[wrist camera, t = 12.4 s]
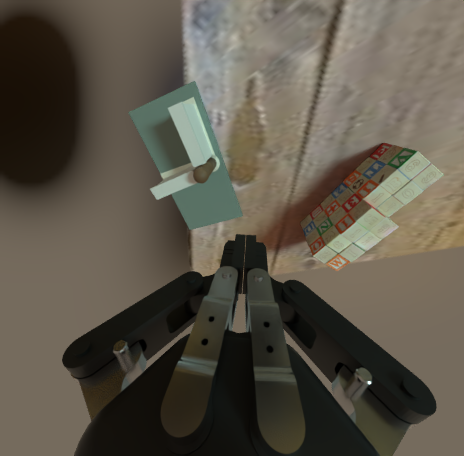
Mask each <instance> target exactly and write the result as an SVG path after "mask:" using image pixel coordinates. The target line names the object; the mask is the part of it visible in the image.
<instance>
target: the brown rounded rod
mask: <svg viewBox="0 0 464 456" xmlns="http://www.w3.org/2000/svg"><path fill="white" fill-rule="evenodd" d="M216 165H217V162H216V160H215V159H214V158H212V157H210V158H209V159H208V160H207V161H206V163H205V164H202V165H200V166H199V167H198V168H197V169H195V171H194V172H193V178H194V180H195V181H196V182H197V183H201V184H202V183H205V182H206V181H207V180H208V178H209V176H210V175H211V173H212V172H213V170H214V169H215V167H216Z"/></svg>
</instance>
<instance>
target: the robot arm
mask: <svg viewBox="0 0 464 456" xmlns="http://www.w3.org/2000/svg"><path fill="white" fill-rule="evenodd" d="M245 237H246V249H245ZM244 254H245V263H244ZM243 268H244V279H243ZM242 282H243V294H246V297H245V298H246V299H245V317H246V318H245V321H246V332H244V333H236V332H233V331H232V328H233V322H234V317H235V312H236V311H235V310H236V306H237V301H238V294H241V293H242ZM192 323H194V325H193V328H192V331H191V333H190V334H188V335H186V336H184V337H183V338H181V339H180V340H179V341H178V342H177V343H175V344H174V345H173V346H172V347H171V348H170V349H169V350H168V351H166V352H165V353H164V354H163V355H162V356H161V357H160V358H159V359H157V360H156V361H155V362H154V363H153V364H152V365H151V366H150V367H148V368H147V369H146V370H145V368H146V363H147V362H146V361H147V360H149V359H150V358H151V357H152V356H153V355H155V354H156V353H157V352H158V351H159V350H161V349H162V348H163V347H164V346H166V345H167V344H168V343H169V342H171V341H172V340H173V339H174V338H175V337H177V336H178V335H179V334H180V333H182V332H183V331H184V330H185V329H186V328H187V327H189V326H190V325H191V324H192ZM283 329H284V330H285V331H286V332H287V333H288V334H289V335H290V337H291V338H292V339H293V340H294V341H295V342H296V343H297V344H298V346H299V347H300V348H301V349H302V350H303V351H304V352H305V353H306V355H307V356H308V357H309V358H310V359H311V360H312V361H313V362H314V363H315V365H316V366H317V367H318V368H319V369H320V370H321V372H322V373H323V374H324V375H325V376H326V377H327V378H328V379H329V381H330V382H331V383H332V392H333V395H334V397H333V396H332V394H331V393H330V392H329V391H328V390H327V388H326V387H325V386H324V385H323V384H322V382H321V381H320V380H319V379H318V377H317V376H316V375H315V374H314V372H313V371H312V370H311V369H310V367H309V366H308V365H307V364H306V362H305V361H304V360H303V359H302V358H301V356H300V355H299V354H298V353H297V352H296V351H295V350H294V349H293V348H292V347H291V346H290V345H288V344H287V343H286V340H285V335H284V330H283ZM62 362H63V364H64V366H65V367H66V368H67V369H68V371H70V373H71V376H72V377H73V378H74V379H75V380H76V381H77V383H79V385H80V386H81V389H82V393H83V396H84V399H85V402H86V405H87V408H88V412H89V415H90V418H91V423H90V424H89V425H88V427H87V429H86V430H85V432H84V434H83V435H82V437H81V439H80V441H79V444H78V446H77V449H76V451H75V454H74V456H393V454H394V452H395V451H396V449H397V447H398V445H399V444H400V442H401V440H402V439H403V437H404V435H405V433H406V432H407V431H408V430H409V429H411V428H412V427H414V426H415V425H417V424H419V423H420V422H421V421H423V420H425V419H426V418H428V417H429V416H431V415H432V414H434V413H435V411H436V401H435V399H434V396H433V394H432V393H431V391H430V390H429V388H428V387H427V386H426V385H425V384H424V383H423V382H422V381H421V380H420V379H419V378H418V377H417V376H415V375H414V374H413V373H412V372H410V371H409V370H408V369H407V368H406V367H404V366H403V365H402V364H401V363H399V362H398V361H397V360H396V359H395V358H393V357H392V356H391V355H390V354H388V353H387V352H386V351H385V350H383V349H382V348H381V347H380V346H379V345H378V344H376V343H375V342H374V341H373V340H371V339H370V338H369V337H368V336H366V335H365V334H364V333H363V332H362V331H360V330H359V329H357V327H355V326H354V325H353V324H352V323H351V322H349V321H348V320H347V319H346V318H344V317H343V316H342V315H341V314H340V313H338V312H337V311H336V310H335V309H333V308H332V307H331V306H330V305H328V304H327V303H326V302H325V301H324V300H322V299H321V298H320V297H319V296H318V295H316V294H315V293H314V292H313V291H311V290H310V289H309V288H308V287H307V286H305V285H304V284H303V283H301V282H299V281H296V280H288V281H286V282H285V283H281V282H278V281H276V280H274V279H273V278H271V277H270V275H269V273H268V266H267V253H266V246H265V245H264V244H263V243H261V242H256V235H240V234H236V238H235V241H231V240H228V242H227V243H226V244H225V246H224V251H223V255H222V259H221V264H220V268H219V269H218V270H217V271H216V273H215V274H213V275H210V276H205V277H202V275H201V274H200V273H198V272H195V271H191V272H187V273H185V274H183V275H181V276H180V277H178V278H176V279H175V280H173V281H172V282H170V283H168V284H167V285H165V286H163V287H162V288H160V289H158V290H157V291H155V292H154V293H152V294H150V295H149V296H147V297H145V298H144V299H142V300H140V301H139V302H137V303H135V304H134V305H132V306H130V307H129V308H127V309H126V310H124V311H122V312H121V313H119V314H117V315H116V316H114V317H112V318H111V319H109V320H107V321H106V322H104V323H103V324H101V325H99V326H98V327H96V328H94V329H93V330H91V331H89V332H88V333H86V334H84V335H83V336H81V337H80V338H78V339H76V340H75V341H74V342H73V343H72V344H71V345H70V346H69V347H68V348H67V349H66V351H65V353H64V355H63V359H62ZM144 370H145V371H144Z"/></svg>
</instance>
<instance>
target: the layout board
mask: <svg viewBox="0 0 464 456" xmlns="http://www.w3.org/2000/svg"><path fill="white" fill-rule="evenodd" d="M180 102H183V103H185V104H194V106H195V109H196V111H197V114H198V117H199V119H200V122H201V125H202V127H203V130H204V133H205V135H206V138H207V141H208V143H209V146H210V149H211V151H212V154H213V155H212V156H211V157H212V158H214V159H215V160H216V162H217V165H216V167H215V169H214V170H213V172H212V173H211V175H210V176H209V178H208V180H207V181H206V182H205V183H202V184H201V183H196V184H194V185H191V186H189V187H187V188H184V189H182V190H179V191H177V192H175V193H172V194H171V195H172V197H173V199H174V200H175V203H176V204H177V206H178V208H179V210H180V212H181V214H182V216H183V218H184V220H185V222H186V223H187V226H188V227H189V229H190V230H191V229H195V228H199V227H203V226H207V225H211V224H214V223H218V222H222V221H226V220H230V219H234V218H237V217H241V216H243V215H242V212H241V209H240V206H239V203H238V201H237V198H236V195H235V192H234V189H233V187H232V184H231V181H230V178H229V175H228V173H227V170H226V167H225V164H224V161H223V158H222V156H221V153H220V150H219V147H218V144H217V142H216V139H215V136H214V133H213V130H212V128H211V125H210V122H209V119H208V116H207V114H206V111H205V108H204V105H203V102H202V99H201V97H200V94H199V91H198V88H197V85H196V83H195V81H194V82H191V83H189V84H187V85H185V86H183V87H181V88H179V89H177V90H175V91H173V92H171V93H168V94H166V95H164V96H162V97H160V98H158V99H156V100H154V101H152V102H150V103H148V104H145V105H143V106H141V107H139V108H137V109H135V110H133V111H131V112H129V115H130V117H131V118H132V121H133V122H134V124H135V126H136V128H137V130H138V132H139V134H140V136H141V138H142V139H143V141H144V143H145V145H146V147H147V149H148V151H149V153H150V155H151V157H152V159H153V161H154V163H155V164H156V166H157V168H158V170H159V172H160V174H161V176H162V178H163V180H164V179H165V178H167V177H169V176H171V175H174V174H176V173H178V172H180V171H183V170H185V169H187V168H189V167H192V166H193V165H192V163H191V160H190V158H189V156H188V153H187V151H186V149H185V147H184V144H183V142H182V140H181V137H180V135H179V133H178V130H177V128H176V126H175V124H174V121H173V119H172V117H171V114H170V112H169V110H168V108H169V107H171V106H173V105H176V104H178V103H180Z"/></svg>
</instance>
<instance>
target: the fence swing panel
mask: <svg viewBox="0 0 464 456" xmlns="http://www.w3.org/2000/svg"><path fill="white" fill-rule="evenodd" d="M199 166H200V165H199ZM199 166H196V167H193V166H192V167H189V168H187V169H185V170H183V171H180V172H178V173H176V174H174V175H171V176H169V177H167V178H165V179H164V180H163V181H161V182H160V183H159V184H157V185H156V186H154V187H152V188H151V189H150V190H151V191H152V193H153V194H154V196H155V198H156V199H157V200H158V199H160V198H162V197H165V196H167V195H170V194H172V193H175V192H177V191H179V190H182V189H184V188H187V187H189V186H191V185H194V184H196V183H197V182H196V181H195V180H194V178H193V172H194V171H195V169H197V168H198V167H199Z"/></svg>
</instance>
